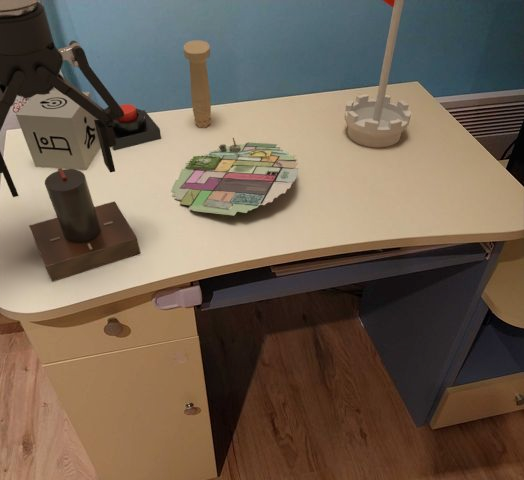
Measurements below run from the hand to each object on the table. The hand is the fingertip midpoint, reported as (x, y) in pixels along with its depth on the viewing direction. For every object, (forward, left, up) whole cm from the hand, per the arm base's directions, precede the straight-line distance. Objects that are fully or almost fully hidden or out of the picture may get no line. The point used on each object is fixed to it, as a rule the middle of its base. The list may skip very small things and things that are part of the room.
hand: (63, 179), depth 70 cm
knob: (0, 0, -9) cm, 9 cm away
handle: (-28, +33, -12) cm, 45 cm away
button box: (-31, +18, -12) cm, 38 cm away
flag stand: (-8, +63, -12) cm, 65 cm away
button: (-31, +18, -8) cm, 37 cm away
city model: (-5, +29, -12) cm, 32 cm away
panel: (0, 0, -12) cm, 12 cm away
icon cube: (-29, +5, -12) cm, 32 cm away
